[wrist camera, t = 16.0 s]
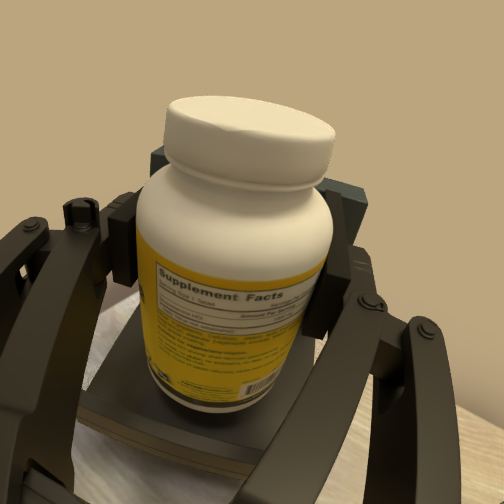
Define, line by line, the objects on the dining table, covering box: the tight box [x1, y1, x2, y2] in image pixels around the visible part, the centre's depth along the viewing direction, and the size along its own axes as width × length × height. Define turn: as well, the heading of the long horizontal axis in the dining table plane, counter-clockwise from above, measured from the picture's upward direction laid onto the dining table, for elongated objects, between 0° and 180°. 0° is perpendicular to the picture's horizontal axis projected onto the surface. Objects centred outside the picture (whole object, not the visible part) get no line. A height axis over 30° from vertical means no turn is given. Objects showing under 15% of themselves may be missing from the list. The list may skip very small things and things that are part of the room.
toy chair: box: [76, 145, 368, 480], centre depth 16 cm, size 11×12×15 cm
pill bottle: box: [136, 96, 336, 413], centre depth 11 cm, size 6×6×11 cm
